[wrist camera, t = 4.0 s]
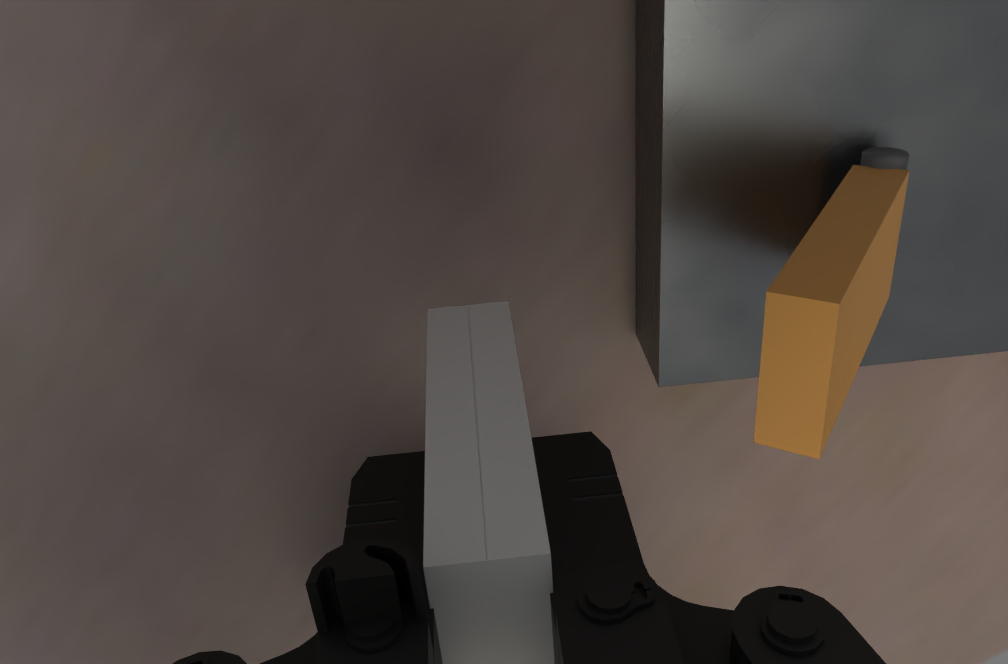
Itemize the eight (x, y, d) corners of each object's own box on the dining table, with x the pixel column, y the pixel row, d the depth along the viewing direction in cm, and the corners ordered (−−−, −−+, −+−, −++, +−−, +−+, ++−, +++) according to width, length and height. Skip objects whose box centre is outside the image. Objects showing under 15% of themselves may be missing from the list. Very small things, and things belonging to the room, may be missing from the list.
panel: (635, 333, 26) (681, 439, 21) (636, -271, 19) (704, -316, 14) (1150, 281, 26) (1306, 373, 22) (1349, -331, 19) (1652, -394, 14)
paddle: (844, 281, 22) (753, 451, 16) (862, 145, 20) (766, 280, 15) (894, 289, 21) (818, 468, 16) (917, 149, 20) (841, 292, 14)
